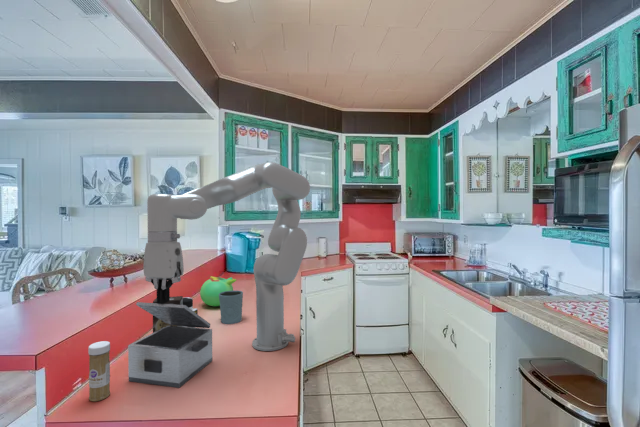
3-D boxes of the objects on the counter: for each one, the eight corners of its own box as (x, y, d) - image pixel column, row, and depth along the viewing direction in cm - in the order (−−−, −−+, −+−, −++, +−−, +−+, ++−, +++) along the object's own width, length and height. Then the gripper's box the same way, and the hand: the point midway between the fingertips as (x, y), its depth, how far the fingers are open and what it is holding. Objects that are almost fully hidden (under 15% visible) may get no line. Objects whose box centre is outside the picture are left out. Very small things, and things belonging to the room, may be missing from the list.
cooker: (218, 361, 101) (217, 329, 101) (184, 389, 85) (184, 351, 85) (162, 355, 106) (162, 324, 106) (121, 381, 90) (121, 345, 90)
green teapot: (198, 302, 168) (198, 274, 168) (232, 299, 175) (231, 271, 175) (202, 312, 151) (201, 281, 151) (238, 307, 158) (238, 277, 158)
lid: (211, 328, 102) (213, 323, 103) (183, 308, 88) (186, 303, 89) (168, 325, 105) (170, 320, 106) (135, 305, 92) (138, 300, 93)
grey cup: (228, 326, 132) (228, 297, 132) (214, 321, 139) (213, 293, 139) (248, 319, 141) (247, 292, 140) (233, 315, 147) (233, 289, 147)
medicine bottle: (187, 331, 127) (187, 301, 127) (171, 330, 128) (171, 300, 128) (198, 325, 134) (197, 296, 134) (182, 324, 135) (182, 295, 135)
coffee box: (152, 348, 111) (151, 301, 111) (156, 341, 117) (155, 297, 117) (180, 345, 114) (180, 299, 114) (183, 338, 120) (182, 295, 120)
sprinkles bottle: (85, 403, 79) (84, 348, 79) (94, 393, 84) (93, 341, 84) (105, 401, 80) (105, 346, 80) (113, 391, 85) (113, 339, 85)
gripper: (194, 237, 94) (194, 300, 94) (149, 236, 97) (150, 297, 97) (176, 239, 86) (177, 307, 86) (129, 238, 90) (130, 304, 90)
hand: (163, 302), depth 92 cm, fingers closed
